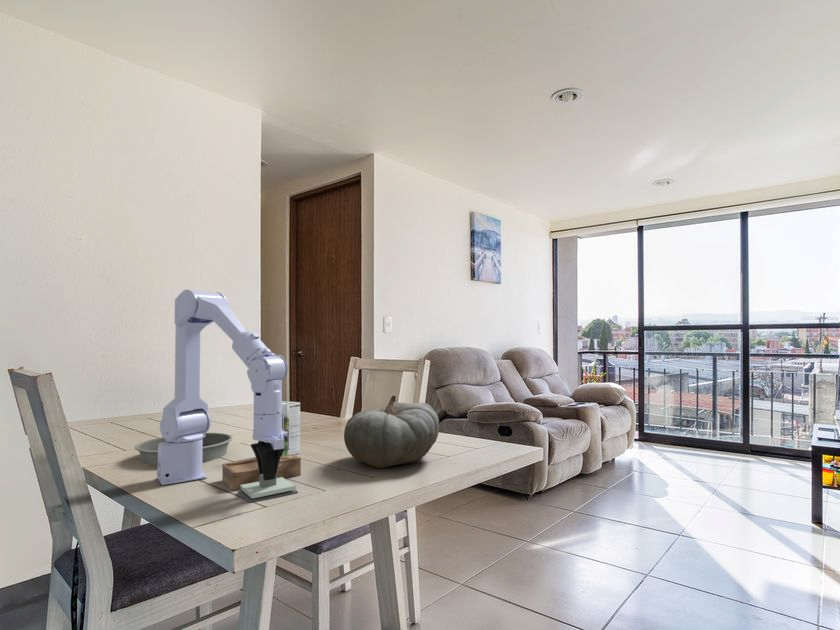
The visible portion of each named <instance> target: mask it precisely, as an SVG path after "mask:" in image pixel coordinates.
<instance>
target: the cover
mask: <svg viewBox="0 0 840 630" xmlns="http://www.w3.org/2000/svg"><path fill="white" fill-rule="evenodd" d="M241 490H243V491H244V492H245V493H246V494H247V495H248V496H249V497H251V498H257V497H262V496H267V495H272V494H277V493H281V492H286V491H291V490H297V489H296V485H295V484H294V483H292V482H290V481H289V480H288V479H286V478H283V477H280V478H276V477H275V479H272V480H264V477H263V474H259V482H254V483H249V484H243V485H241V489H240V491H241Z"/></svg>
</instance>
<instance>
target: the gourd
mask: <svg viewBox="0 0 840 630" xmlns="http://www.w3.org/2000/svg"><path fill="white" fill-rule="evenodd" d="M396 397H397V396H396V395H391V397H390V400H389V401H388V404H387V406H386V407H382V408H380V409H379V410H375V409H366V410H363V411H359V412H356V413H355V414H354V415H353V416H351V417H350V418H349V419H348V420H347V422H346V424H345V427H344V431H343V439H344V445H345V447H346V450H348V453H349V454H350V455H351V456H352V457H353V458H354V460H355V461H357V462H360V463H362V464H367V465H369V466H371V467H375V468H377V469H378V468H379V469H384V468H385V469H386V468H387V467H392V466H397V465H405V464H408V463H415V462H418V461H420V460H422V459H423V458H424V457H425V456H426V455H427V453H429V451H430V450H431V449H432V447H433V446H434V444H435V443H436V441H437V439H438V436H439V433H440V419H439V416H438V414H437V413H436V411H435V410H434V408H433V407H432V406H431V405H429V404H428V403H425V402H414V403H407V402H396Z"/></svg>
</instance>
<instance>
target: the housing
mask: <svg viewBox="0 0 840 630" xmlns="http://www.w3.org/2000/svg"><path fill="white" fill-rule="evenodd" d="M301 460H302V458H301V457H299V456H298V455H297V454H296V455H294V454H290V455H283V456H281V458H280V460H279V464H278V468H277V473H276V478H280V477H283V478H284V479H286V478H292V477H297V476H298V477H299V476H301V473H302V467H301V464H302V462H301ZM221 469H222V470H221V471H222V473H221V475H222V478H221V479H222V482H224V484H226V485H227V487H228V488H230V489H231V490H232V491H235V490H241V485H243V484H249V483H254V482H259V474H260V472H259V468H258V463H257V459H256V458H253V459H247V460H246V459H245V460H241V461H234V462H227V463H224V464H222V468H221Z"/></svg>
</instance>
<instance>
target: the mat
mask: <svg viewBox="0 0 840 630" xmlns="http://www.w3.org/2000/svg"><path fill="white" fill-rule="evenodd" d="M298 493H299V492H298V490H297V489H296V490H291V491H286V492H281V493H277V494H272V495H267V496H262V497H257V498H251V497H249V496H248V495H247V494H246V493H245V492H244V491H243V490H241V489H240V490H238V494H240V496H242V497H243V499H244V500H246V501H247V502H248V503H254V502H258V501H262V500H269V499H272V498H273V499H274V498H278V497H284V496H289V495H294V494H298Z"/></svg>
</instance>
